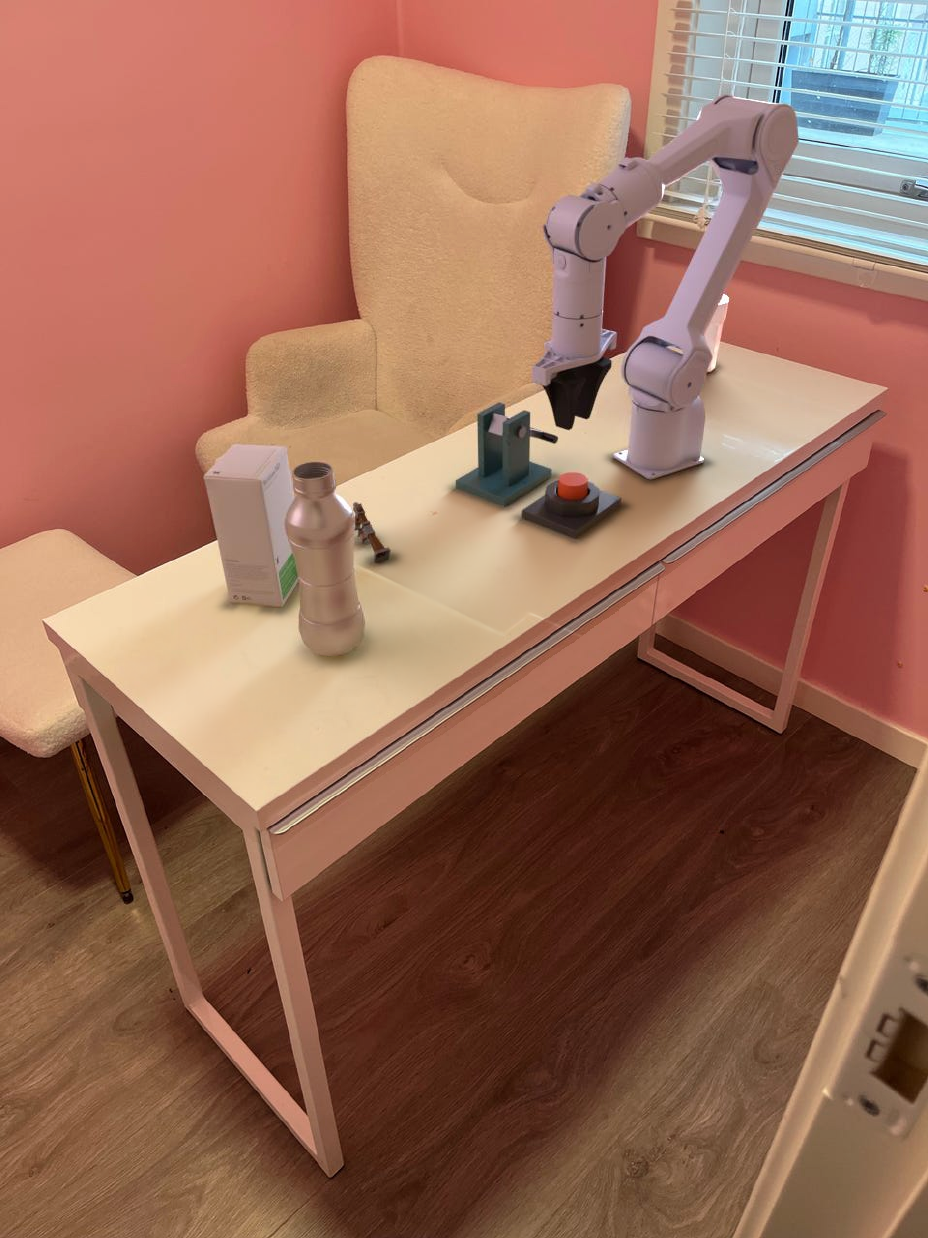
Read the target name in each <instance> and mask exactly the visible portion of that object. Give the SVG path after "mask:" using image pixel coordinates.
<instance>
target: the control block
mask: <svg viewBox="0 0 928 1238" xmlns="http://www.w3.org/2000/svg"><path fill="white" fill-rule="evenodd" d="M621 506H622V497H620V496H618V495H615V494H612V493H610V492H606V491H603V490H601V489H600V488H599V487H598V486H597V485H596V484H595V483H594V482H592V481H589V480H588V491H587V496H586V497H585V498H581V499H577V500H574V499H565V498H562V497H559V495H558V479H556V480H554V481H553V482H551V483H550V484H548V485H547V486H546V488H545V493H544V495H542V496H541V497H539V498H538V499H536V500H535V501H534V502H532V503H530V504H529V505H527V506H526V507H525V508H523V509H522V510H521V519H523V520H525V521H527V522H530V523H533V524H535V525H538V526H540V527H543V528H545V529H548V530H551V531H554V532H556V533H559V534H561V535H563V536H566V537H569V538H571V539H575V540H577V538H579V537H580V536H582V535H583V534H584V533H586V532H587V531H589V530H590V529H591V528H593V527H594V526H596V524H598V523H600V522H601V521H602V520H604V519H606V518H607V517H608V516H609V515H610V514H612V513H613V512H614V511H616V510H617V509H618V508H620V507H621Z"/></svg>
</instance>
